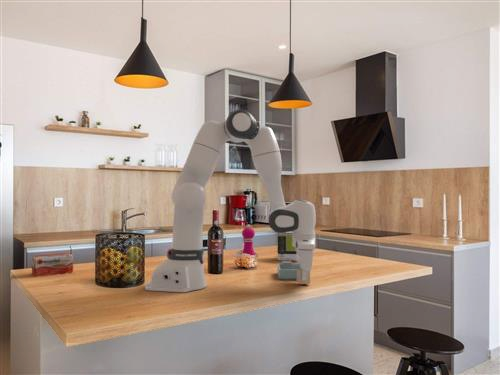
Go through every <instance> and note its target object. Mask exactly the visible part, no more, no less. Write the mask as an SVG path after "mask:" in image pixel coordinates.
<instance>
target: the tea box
mask: <svg viewBox="0 0 500 375" xmlns="http://www.w3.org/2000/svg"><path fill="white" fill-rule="evenodd" d="M276 233H277V232H276ZM276 235H277V238H276V239H277V261H291V262H292V261H293V262H297V261H296V253H297V251H296V250H295V249H296V248H295V247H293V246H292V231H290V232H286V233H277V234H276Z"/></svg>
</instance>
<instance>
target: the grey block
mask: <svg viewBox="0 0 500 375" xmlns="http://www.w3.org/2000/svg"><path fill="white" fill-rule="evenodd" d="M281 264H282V268H281V269H292V264H293V263H292V261H284V260H281Z"/></svg>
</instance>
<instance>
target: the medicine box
mask: <svg viewBox="0 0 500 375" xmlns="http://www.w3.org/2000/svg"><path fill="white" fill-rule="evenodd" d="M72 272H73V273H74V255H73V254H71V253H69V252H62V253H61V252H60V253H49V254H39V255H38V254H37V255H32V257H31V275H33V277H34V278H37V277H39V276H40V277H49V275H50V276H58V275H57V274H60V275H66V274H65V273H69V274H73V273H72ZM40 277H39V278H40Z"/></svg>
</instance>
